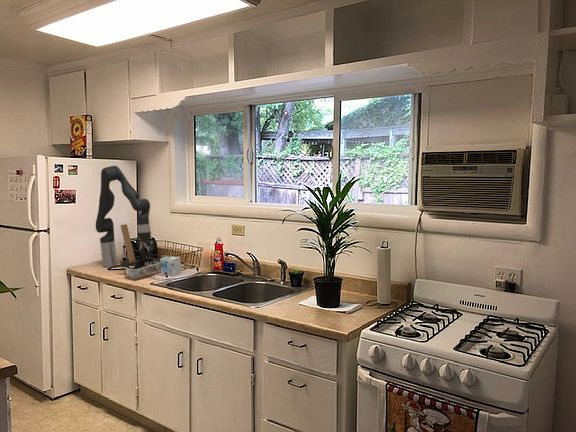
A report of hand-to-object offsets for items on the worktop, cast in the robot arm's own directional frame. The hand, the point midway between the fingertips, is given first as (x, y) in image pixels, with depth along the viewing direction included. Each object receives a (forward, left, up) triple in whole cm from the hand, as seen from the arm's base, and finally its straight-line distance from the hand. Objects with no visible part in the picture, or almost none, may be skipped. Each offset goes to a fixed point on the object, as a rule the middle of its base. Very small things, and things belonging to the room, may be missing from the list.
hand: (146, 256), depth 301 cm
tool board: (0, 0, -12) cm, 12 cm away
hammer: (-26, +5, -12) cm, 29 cm away
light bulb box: (+14, +7, -12) cm, 20 cm away
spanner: (0, 0, -10) cm, 10 cm away
